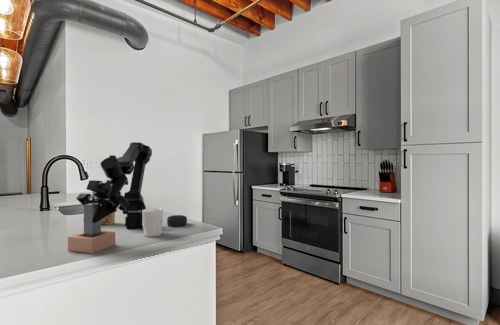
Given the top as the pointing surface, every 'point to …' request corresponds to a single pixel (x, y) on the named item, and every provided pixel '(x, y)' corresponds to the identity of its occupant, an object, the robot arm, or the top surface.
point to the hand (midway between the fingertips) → (89, 222)
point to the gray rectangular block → (91, 220)
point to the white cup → (152, 221)
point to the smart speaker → (176, 220)
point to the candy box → (107, 217)
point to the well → (91, 242)
